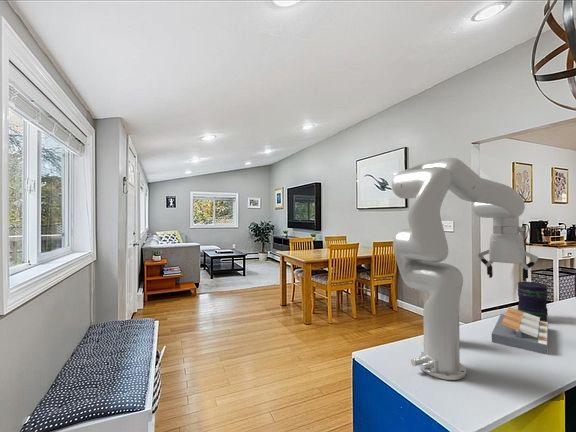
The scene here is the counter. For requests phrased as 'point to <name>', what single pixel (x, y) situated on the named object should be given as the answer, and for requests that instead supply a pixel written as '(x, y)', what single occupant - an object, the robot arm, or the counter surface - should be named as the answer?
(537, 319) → the switch
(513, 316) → the switch
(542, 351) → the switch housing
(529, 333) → the switch
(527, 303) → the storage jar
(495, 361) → the counter surface
